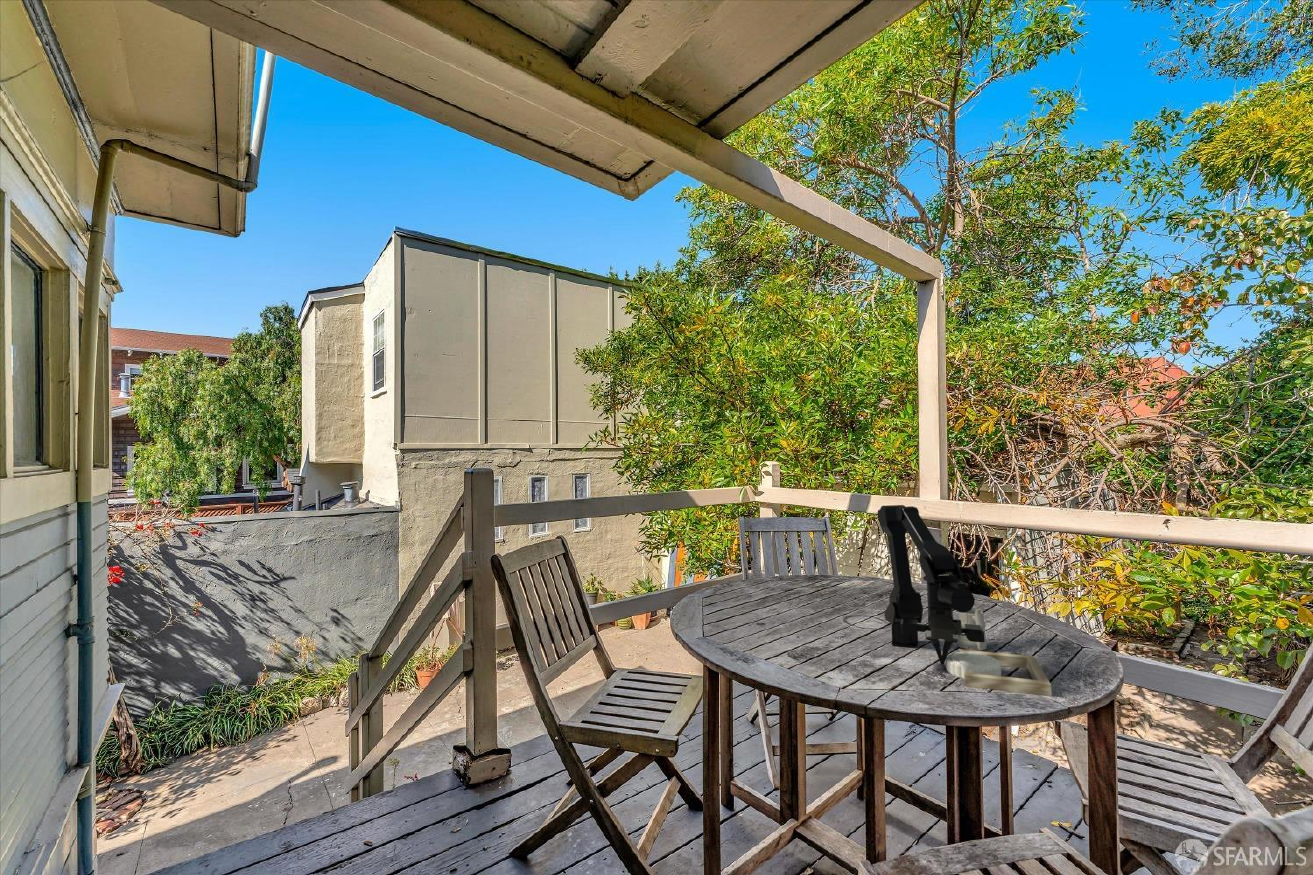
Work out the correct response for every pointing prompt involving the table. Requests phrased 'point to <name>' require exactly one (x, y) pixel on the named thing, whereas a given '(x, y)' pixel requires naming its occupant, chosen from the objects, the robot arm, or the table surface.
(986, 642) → the mug
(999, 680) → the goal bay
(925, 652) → the table surface
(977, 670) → the mooncake
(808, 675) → the table surface
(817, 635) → the table surface
